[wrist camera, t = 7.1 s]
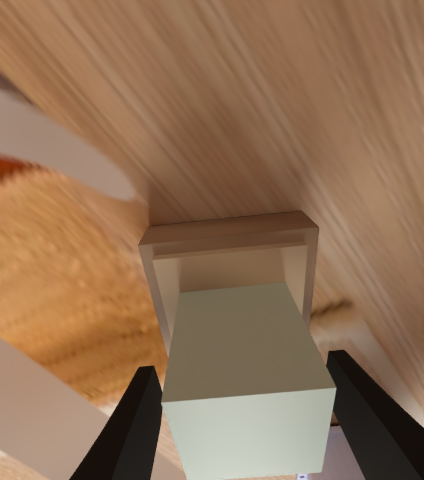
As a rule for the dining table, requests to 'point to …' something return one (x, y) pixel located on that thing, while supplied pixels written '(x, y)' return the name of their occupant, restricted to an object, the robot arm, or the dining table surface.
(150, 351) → the dining table surface
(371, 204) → the dining table surface
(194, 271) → the plinth
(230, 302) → the sage block
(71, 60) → the dining table surface
